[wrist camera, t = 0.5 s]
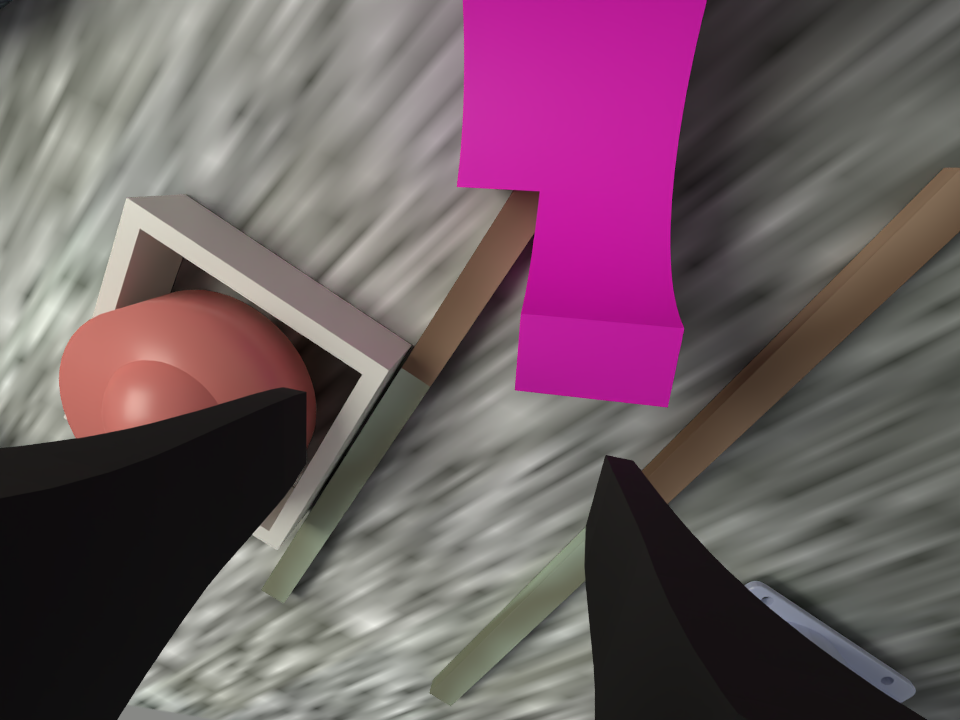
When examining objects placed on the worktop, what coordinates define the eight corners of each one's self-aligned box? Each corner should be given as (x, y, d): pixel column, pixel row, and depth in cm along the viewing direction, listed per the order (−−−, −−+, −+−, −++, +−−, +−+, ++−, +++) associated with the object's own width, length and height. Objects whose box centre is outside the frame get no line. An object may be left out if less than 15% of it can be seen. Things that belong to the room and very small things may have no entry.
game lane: (979, 194, 16) (998, 194, 15) (453, 692, 29) (450, 706, 29) (663, -45, 15) (668, -55, 15) (269, 579, 28) (261, 589, 28)
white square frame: (411, 345, 22) (388, 370, 19) (308, 510, 26) (277, 550, 23) (185, 194, 21) (126, 197, 18) (118, 391, 25) (63, 417, 23)
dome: (365, 359, 21) (293, 424, 16) (286, 492, 25) (205, 585, 19) (185, 240, 20) (44, 265, 15) (130, 395, 24) (0, 461, 18)
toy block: (492, -194, 14) (420, -544, 7) (718, -206, 13) (883, -619, 6) (472, 306, 20) (420, 379, 13) (630, 321, 19) (667, 407, 12)
